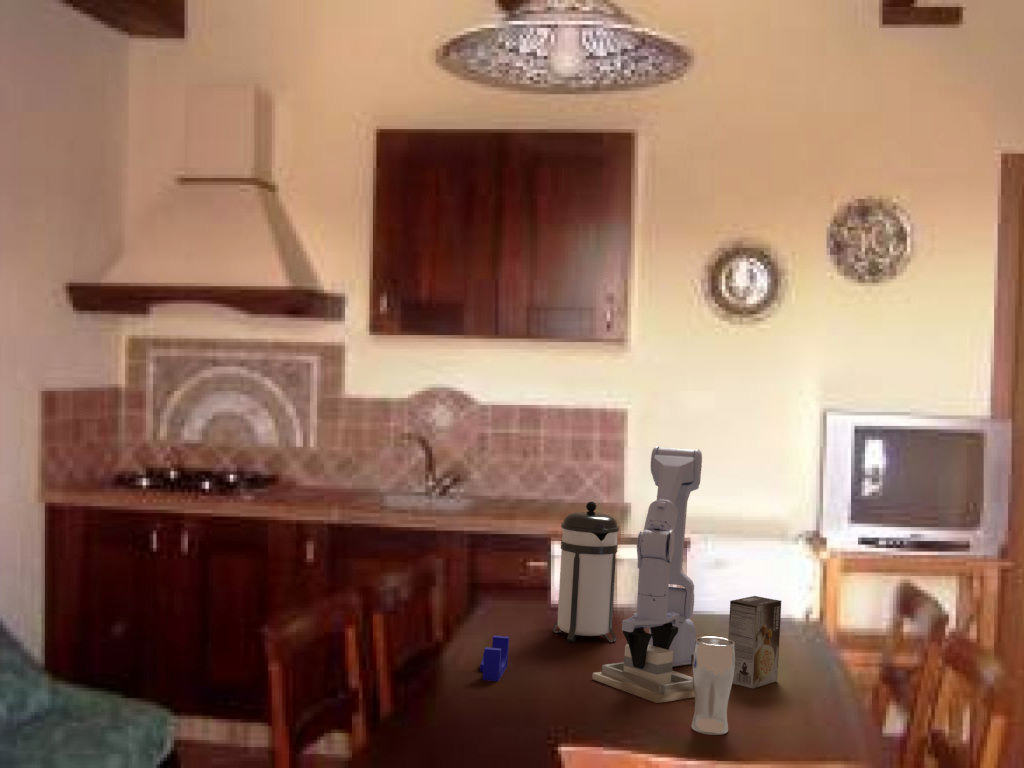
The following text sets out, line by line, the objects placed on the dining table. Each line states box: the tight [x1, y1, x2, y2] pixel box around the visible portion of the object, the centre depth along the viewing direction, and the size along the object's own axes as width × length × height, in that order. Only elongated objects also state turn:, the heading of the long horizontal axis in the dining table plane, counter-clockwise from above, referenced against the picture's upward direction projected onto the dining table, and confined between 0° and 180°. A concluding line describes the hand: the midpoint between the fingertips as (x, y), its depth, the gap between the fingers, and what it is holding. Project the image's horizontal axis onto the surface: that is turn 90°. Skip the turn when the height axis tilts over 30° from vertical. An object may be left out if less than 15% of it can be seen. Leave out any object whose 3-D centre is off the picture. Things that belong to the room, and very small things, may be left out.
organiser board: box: [591, 654, 695, 704], centre depth 235 cm, size 16×18×7 cm
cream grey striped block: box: [623, 643, 673, 685], centre depth 235 cm, size 4×8×6 cm, turn 44°
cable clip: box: [479, 635, 510, 682], centre depth 239 cm, size 12×4×6 cm, turn 172°
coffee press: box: [552, 501, 620, 644], centre depth 275 cm, size 17×16×30 cm
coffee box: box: [727, 595, 783, 690], centre depth 242 cm, size 9×6×16 cm
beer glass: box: [691, 636, 735, 736], centre depth 209 cm, size 7×7×15 cm
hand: (648, 665), depth 234 cm, fingers open, 5 cm apart
